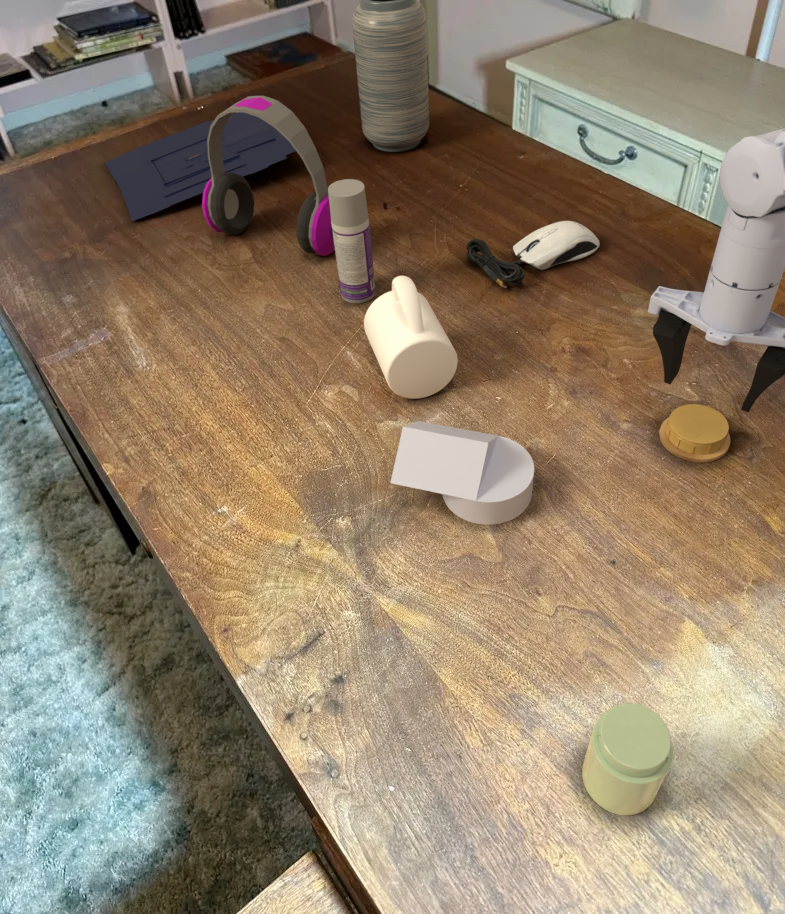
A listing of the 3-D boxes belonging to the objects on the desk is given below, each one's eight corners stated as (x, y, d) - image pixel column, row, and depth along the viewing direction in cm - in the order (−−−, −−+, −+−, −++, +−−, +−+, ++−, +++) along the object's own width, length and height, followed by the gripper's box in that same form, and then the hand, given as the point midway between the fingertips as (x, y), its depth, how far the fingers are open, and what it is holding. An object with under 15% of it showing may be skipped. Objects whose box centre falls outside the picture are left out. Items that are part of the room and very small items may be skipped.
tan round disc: (726, 418, 82) (727, 415, 81) (732, 466, 77) (733, 462, 77) (658, 412, 83) (658, 409, 83) (660, 458, 78) (661, 455, 78)
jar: (655, 748, 58) (675, 703, 53) (658, 821, 54) (680, 782, 49) (583, 736, 59) (595, 691, 54) (581, 808, 55) (593, 768, 50)
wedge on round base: (392, 505, 76) (521, 533, 73) (387, 459, 72) (525, 486, 68) (419, 443, 82) (539, 466, 79) (416, 396, 77) (544, 419, 74)
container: (356, 279, 105) (344, 175, 94) (382, 290, 102) (373, 184, 92) (333, 296, 102) (318, 190, 91) (360, 307, 100) (347, 200, 89)
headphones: (354, 239, 112) (338, 99, 98) (323, 270, 107) (302, 127, 92) (238, 214, 119) (208, 80, 105) (204, 241, 114) (168, 105, 100)
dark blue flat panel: (311, 168, 126) (305, 147, 123) (139, 237, 121) (130, 217, 118) (264, 116, 142) (258, 97, 139) (111, 176, 137) (101, 157, 134)
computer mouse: (615, 255, 105) (619, 228, 102) (502, 296, 100) (503, 270, 97) (570, 223, 111) (573, 198, 108) (463, 261, 106) (463, 235, 103)
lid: (679, 408, 83) (682, 396, 81) (733, 428, 80) (737, 417, 79) (657, 440, 79) (659, 428, 78) (712, 462, 77) (716, 451, 76)
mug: (389, 406, 86) (381, 320, 78) (366, 353, 93) (357, 267, 85) (458, 390, 88) (458, 302, 79) (430, 338, 95) (427, 252, 86)
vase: (350, 147, 133) (334, -1, 117) (390, 122, 140) (380, -22, 123) (403, 162, 128) (394, 9, 112) (442, 135, 134) (440, -13, 118)
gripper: (645, 270, 67) (622, 388, 76) (821, 322, 60) (771, 443, 70) (677, 233, 70) (650, 350, 80) (845, 278, 64) (794, 399, 74)
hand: (708, 391), depth 75 cm, fingers open, 7 cm apart
